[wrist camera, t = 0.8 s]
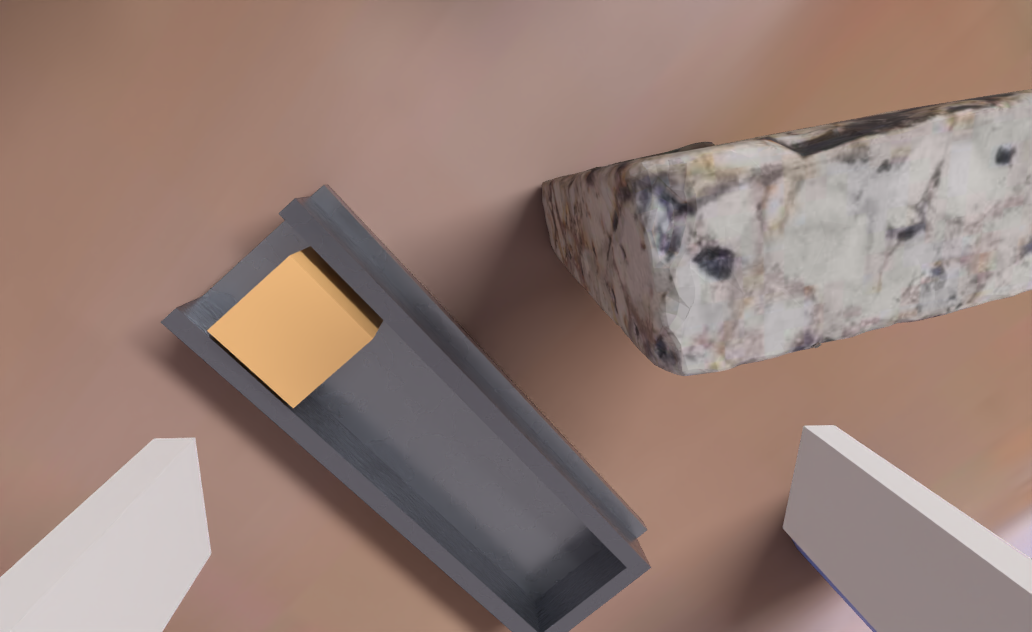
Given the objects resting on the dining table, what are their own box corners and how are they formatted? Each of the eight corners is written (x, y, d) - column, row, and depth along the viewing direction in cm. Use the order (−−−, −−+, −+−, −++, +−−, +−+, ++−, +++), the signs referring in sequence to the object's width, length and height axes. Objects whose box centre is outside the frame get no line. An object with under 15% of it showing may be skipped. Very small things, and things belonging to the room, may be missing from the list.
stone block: (556, 282, 34) (681, 417, 15) (524, 175, 32) (621, 169, 13) (748, 219, 34) (1121, 271, 15) (729, 110, 32) (1126, 7, 13)
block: (238, 312, 31) (207, 330, 27) (311, 245, 31) (289, 255, 27) (313, 381, 33) (293, 408, 29) (383, 319, 32) (373, 338, 28)
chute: (185, 315, 32) (147, 334, 28) (327, 184, 31) (309, 185, 27) (520, 616, 40) (527, 663, 36) (642, 521, 39) (662, 558, 35)
